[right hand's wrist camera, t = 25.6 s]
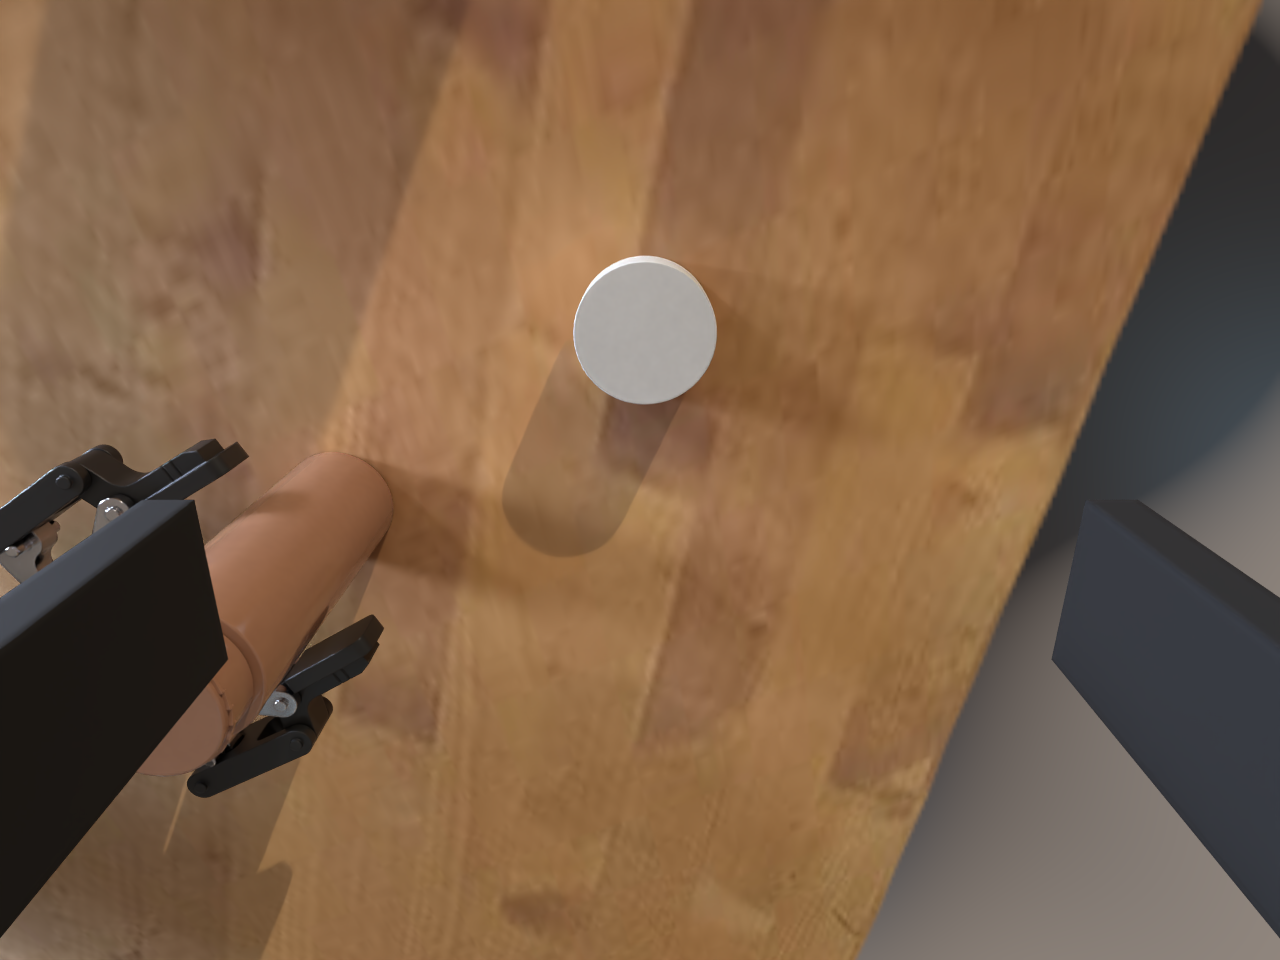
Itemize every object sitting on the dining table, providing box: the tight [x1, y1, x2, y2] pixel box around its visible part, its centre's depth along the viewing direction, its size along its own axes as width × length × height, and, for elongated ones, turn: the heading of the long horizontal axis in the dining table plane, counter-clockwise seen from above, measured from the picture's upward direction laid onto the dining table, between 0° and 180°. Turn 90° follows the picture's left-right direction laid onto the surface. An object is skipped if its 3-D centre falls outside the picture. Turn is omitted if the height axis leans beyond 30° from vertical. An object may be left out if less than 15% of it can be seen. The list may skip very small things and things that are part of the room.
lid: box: [573, 256, 717, 404], centre depth 33 cm, size 6×6×2 cm
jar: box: [136, 452, 393, 776], centre depth 30 cm, size 5×5×16 cm
